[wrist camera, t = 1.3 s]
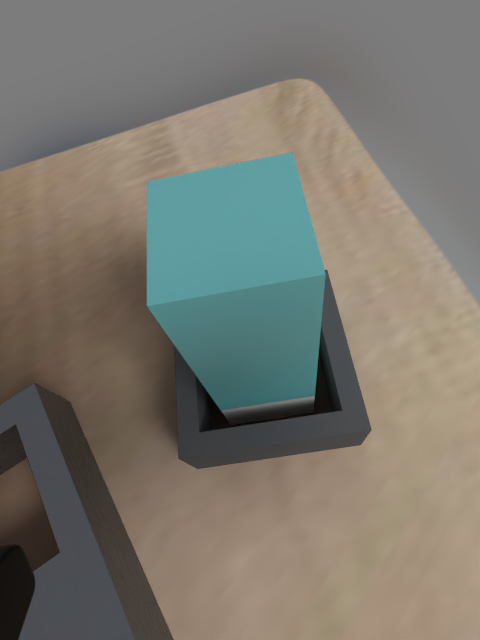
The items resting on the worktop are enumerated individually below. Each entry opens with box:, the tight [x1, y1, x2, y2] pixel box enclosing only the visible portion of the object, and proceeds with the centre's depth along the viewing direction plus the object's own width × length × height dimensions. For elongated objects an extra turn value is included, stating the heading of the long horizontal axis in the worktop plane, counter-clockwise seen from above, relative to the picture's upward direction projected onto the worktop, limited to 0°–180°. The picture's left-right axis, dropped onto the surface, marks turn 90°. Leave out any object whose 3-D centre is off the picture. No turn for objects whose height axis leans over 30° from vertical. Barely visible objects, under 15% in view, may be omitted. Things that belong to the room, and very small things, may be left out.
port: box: [0, 383, 173, 640], centre depth 17 cm, size 14×10×4 cm
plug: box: [147, 152, 326, 425], centre depth 16 cm, size 4×4×13 cm
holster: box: [174, 270, 371, 469], centre depth 20 cm, size 8×8×4 cm
